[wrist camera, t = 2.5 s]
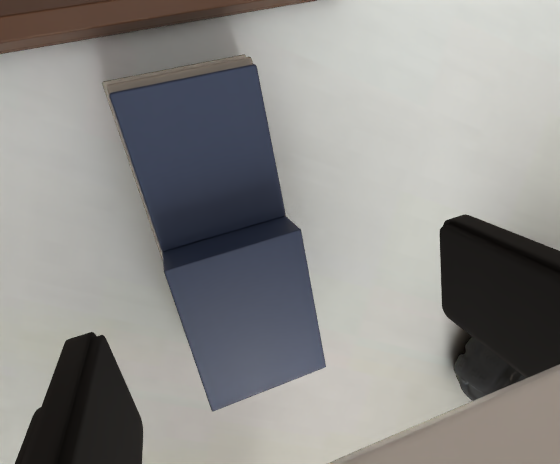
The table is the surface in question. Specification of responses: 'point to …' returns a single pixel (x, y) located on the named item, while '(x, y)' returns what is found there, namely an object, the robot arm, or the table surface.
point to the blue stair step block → (221, 223)
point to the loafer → (483, 371)
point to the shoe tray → (106, 17)
